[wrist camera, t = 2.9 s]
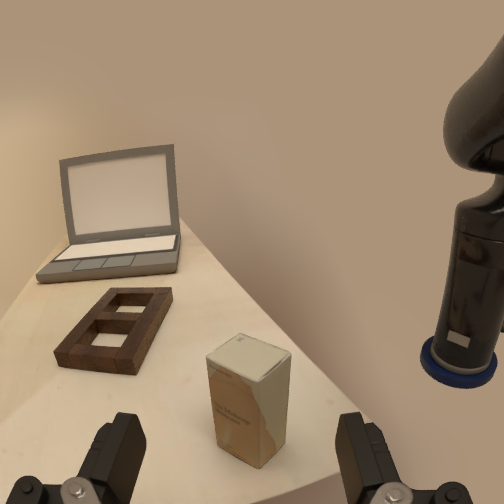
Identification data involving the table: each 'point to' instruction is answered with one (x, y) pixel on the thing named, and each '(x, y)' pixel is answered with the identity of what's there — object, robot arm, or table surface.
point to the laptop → (118, 216)
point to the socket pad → (116, 331)
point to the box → (249, 397)
